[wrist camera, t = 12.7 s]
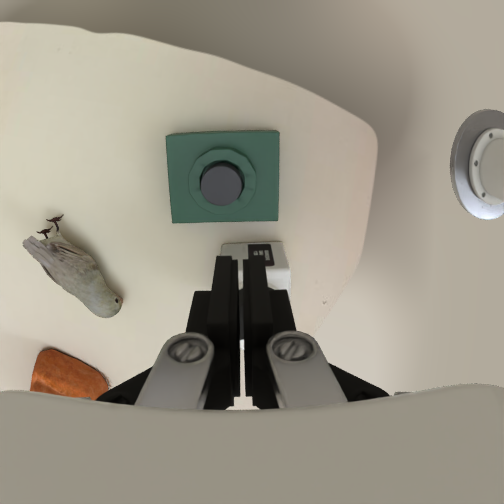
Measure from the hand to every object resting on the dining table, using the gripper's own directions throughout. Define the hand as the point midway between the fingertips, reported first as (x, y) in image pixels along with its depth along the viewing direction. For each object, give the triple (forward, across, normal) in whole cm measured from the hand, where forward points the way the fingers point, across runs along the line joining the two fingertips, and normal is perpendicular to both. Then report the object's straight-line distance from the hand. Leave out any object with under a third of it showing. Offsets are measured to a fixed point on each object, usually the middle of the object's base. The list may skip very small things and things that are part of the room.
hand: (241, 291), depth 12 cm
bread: (+27, +38, +45) cm, 65 cm away
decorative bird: (+27, +22, +12) cm, 37 cm away
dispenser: (+27, +2, +1) cm, 27 cm away
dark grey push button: (+22, +2, +1) cm, 23 cm away
